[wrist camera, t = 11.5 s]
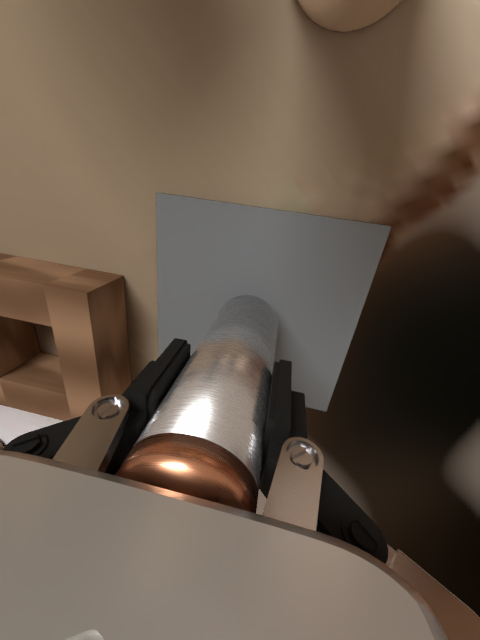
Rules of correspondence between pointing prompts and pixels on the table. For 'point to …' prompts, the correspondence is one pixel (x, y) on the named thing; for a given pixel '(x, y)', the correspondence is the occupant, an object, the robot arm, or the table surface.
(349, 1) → the beer glass
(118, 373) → the eye block
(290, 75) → the table surface
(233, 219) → the slate mat
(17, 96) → the table surface
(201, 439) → the steel peg
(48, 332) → the table surface
